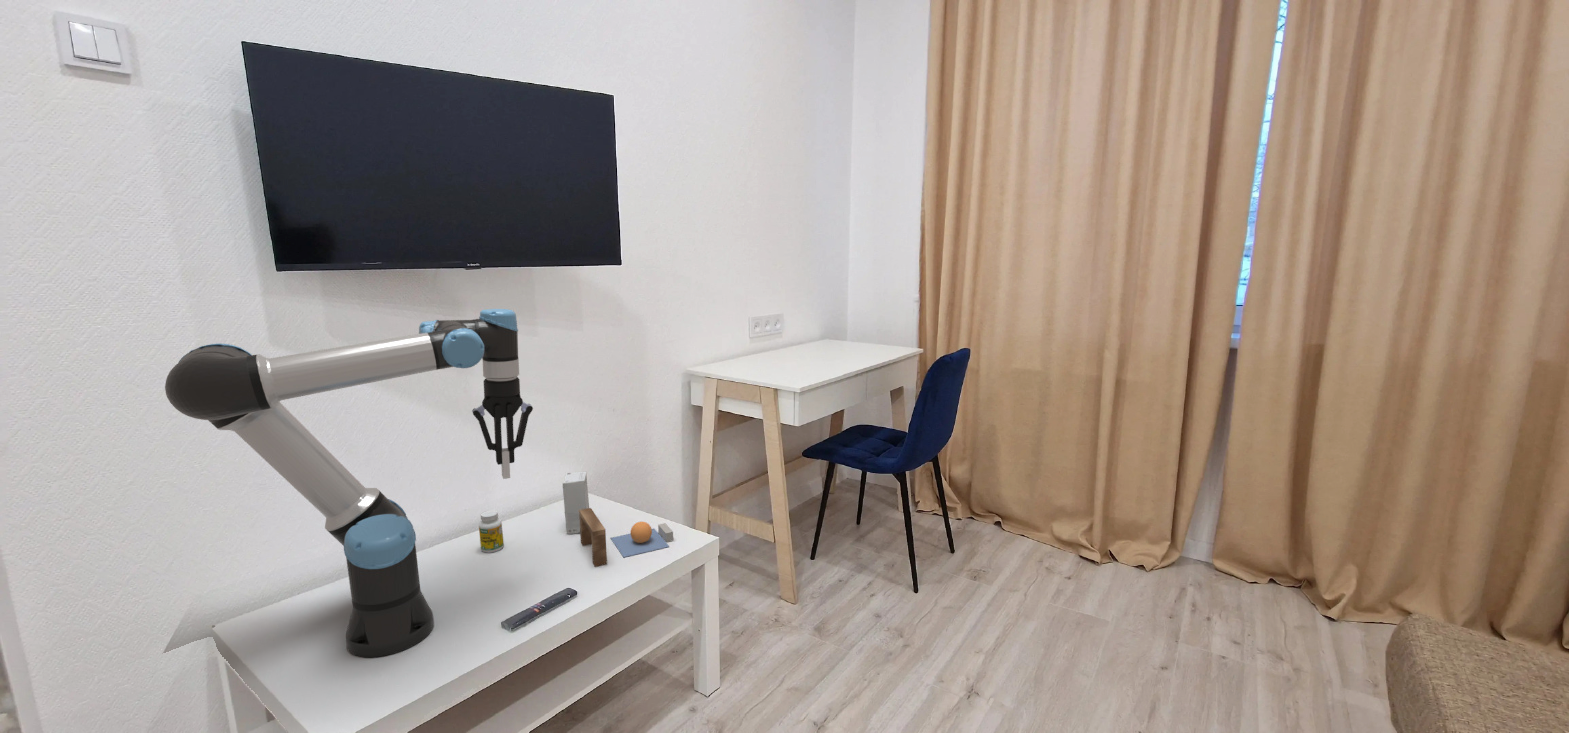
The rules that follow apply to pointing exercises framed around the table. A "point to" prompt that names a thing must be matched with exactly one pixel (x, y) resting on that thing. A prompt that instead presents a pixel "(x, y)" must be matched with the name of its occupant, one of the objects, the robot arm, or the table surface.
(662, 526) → the stopper
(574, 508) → the skincare box
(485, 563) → the table surface
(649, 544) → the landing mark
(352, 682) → the table surface
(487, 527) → the supplement bottle
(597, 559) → the bridge
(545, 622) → the table surface
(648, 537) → the ball
